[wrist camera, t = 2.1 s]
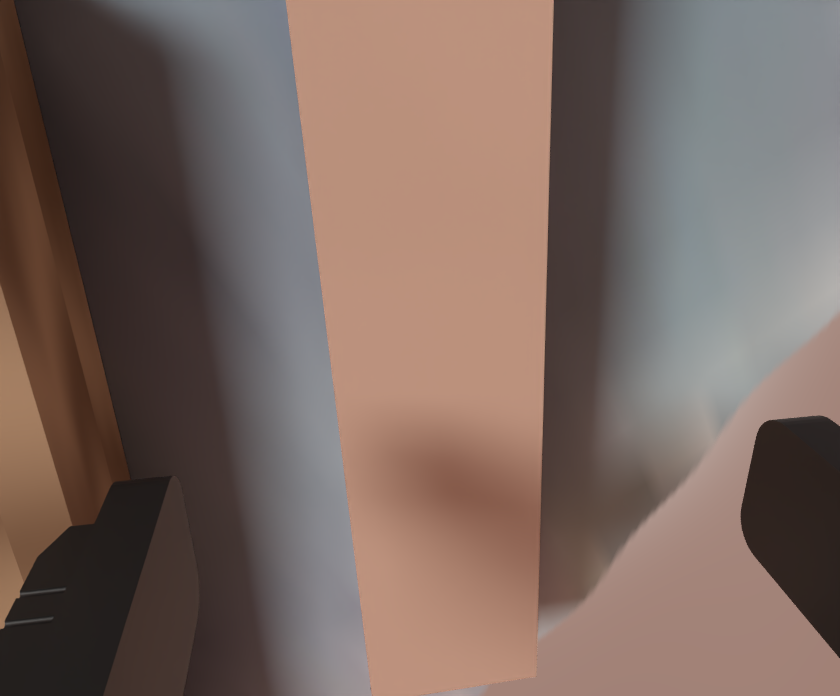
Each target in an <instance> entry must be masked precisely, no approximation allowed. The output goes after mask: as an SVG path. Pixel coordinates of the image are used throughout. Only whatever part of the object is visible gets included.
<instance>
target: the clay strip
mask: <svg viewBox="0 0 840 696" xmlns="http://www.w3.org/2000/svg"><path fill="white" fill-rule="evenodd" d="M286 6H287V14H288V22H289V30H290V38H291V46H292V54H293V62H294V70H295V78H296V86H297V94H298V102H299V110H300V119H301V127H302V135H303V143H304V151H305V159H306V167H307V175H308V183H309V191H310V199H311V207H312V215H313V223H314V232H315V240H316V248H317V256H318V264H319V272H320V280H321V288H322V296H323V304H324V312H325V320H326V328H327V336H328V345H329V353H330V361H331V369H332V377H333V385H334V393H335V401H336V409H337V417H338V425H339V433H340V441H341V449H342V458H343V466H344V474H345V482H346V490H347V498H348V506H349V514H350V522H351V530H352V538H353V546H354V554H355V562H356V570H357V579H358V587H359V595H360V603H361V611H362V619H363V627H364V635H365V643H366V651H367V659H368V667H369V675H370V683H371V692H372V696H419V695H425V694H431V693H438V692H444V691H450V690H456V689H462V688H469V687H475V686H481V685H487V684H494V683H500V682H506V681H512V680H518V679H525V678H530V677H536V670H537V633H538V594H539V555H540V516H541V477H542V438H543V399H544V360H545V321H546V282H547V243H548V203H549V164H550V125H551V86H552V47H553V8H554V0H286Z"/></svg>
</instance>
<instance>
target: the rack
mask: <svg viewBox="0 0 840 696" xmlns="http://www.w3.org/2000/svg"><path fill="white" fill-rule="evenodd" d="M125 480H131V478H130V474H129V470H128V466H127V462H126V458H125V454H124V450H123V446H122V442H121V438H120V433H119V429H118V425H117V421H116V417H115V413H114V409H113V405H112V401H111V397H110V393H109V389H108V384H107V380H106V376H105V372H104V368H103V364H102V360H101V356H100V352H99V348H98V344H97V339H96V335H95V331H94V327H93V323H92V319H91V315H90V311H89V307H88V303H87V299H86V294H85V290H84V286H83V282H82V278H81V274H80V270H79V266H78V262H77V258H76V254H75V250H74V245H73V241H72V237H71V233H70V229H69V225H68V221H67V217H66V213H65V209H64V205H63V200H62V196H61V192H60V188H59V184H58V180H57V176H56V172H55V168H54V164H53V160H52V155H51V151H50V147H49V143H48V139H47V135H46V131H45V127H44V123H43V119H42V115H41V110H40V106H39V102H38V98H37V94H36V90H35V86H34V82H33V78H32V74H31V70H30V66H29V61H28V57H27V53H26V49H25V45H24V41H23V37H22V33H21V29H20V25H19V21H18V16H17V12H16V8H15V4H14V0H0V629H3V628H4V626H5V622H4V621H5V619H6V617H7V615H8V613H9V611H10V609H11V607H12V605H13V603H14V601H15V599H16V598H19V597H20V590H21V588H22V586H23V584H24V582H25V580H26V578H27V576H28V574H29V572H30V570H31V568H32V566H33V564H34V562H35V560H36V559H37V557H38V556H39V555H40V554H41V553H42V552H43V551H44V550H45V549H46V548H47V547H48V546H49V545H51V544H52V543H53V542H54V541H55V540H56V539H57V538H58V537H59V536H60V535H61V534H62V533H63V532H64V531H65V530H67V529H68V528H69V527H70V526H77V525H87V524H94V523H95V521H96V519H97V516H98V514H99V512H100V509H101V507H102V505H103V502H104V500H105V498H106V496H107V493H108V491H109V489H110V487H111V485H112V484H113V483H114V482H116V481H125ZM183 696H184V695H183Z"/></svg>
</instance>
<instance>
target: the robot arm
mask: <svg viewBox="0 0 840 696" xmlns="http://www.w3.org/2000/svg"><path fill="white" fill-rule="evenodd" d="M741 525H742V531H743V534H744V537H745V540H746V543H747V545H748V547H749V549H750V550H751V552H752V553H753V555H754V556H755V557H756V559H757V560H758V561H759V562H760V563H761V565H762V566H763V567H764V568H765V569H766V570H767V572H768V573H769V574H770V575H771V576H772V578H773V579H774V580H775V581H776V582H777V583H778V585H779V586H780V587H781V589H782V590H783V591H784V592H785V593H786V594H787V596H788V597H789V598H790V599H791V600H792V602H793V603H794V604H795V605H796V606H797V608H798V609H799V610H800V611H801V612H802V614H803V615H804V616H805V617H806V618H807V620H808V621H809V622H810V623H811V624H812V625H813V627H814V628H815V629H816V630H817V632H818V633H819V634H820V635H821V636H822V638H823V639H824V640H825V641H826V642H827V643H828V644H829V646H830V647H831V648H832V650H833V651H834V652H835V653H836V654H837V656H838V657H839V658H840V426H838V425H837V424H836V423H835V422H833V421H832V420H830V419H828V418H827V417H824V416H809V417H799V418H788V419H778V420H769V421H767V422H765V423H764V424H763V425H761V427H760V428H759V431H758V433H757V436H756V440H755V445H754V450H753V455H752V460H751V464H750V469H749V474H748V479H747V483H746V488H745V493H744V498H743V503H742V508H741ZM198 613H199V576H198V569H197V563H196V558H195V553H194V548H193V543H192V538H191V533H190V528H189V522H188V517H187V512H186V507H185V502H184V497H183V492H182V488H181V484H180V482H179V479H178V478H177V477H176V476H167V477H156V478H146V479H135V480H125V481H116V482H114V483H113V484H112V485H111V487H110V489H109V491H108V493H107V496H106V498H105V500H104V502H103V505H102V507H101V509H100V512H99V514H98V516H97V519H96V521H95V523H94V524H87V525H77V526H70V527H69V528H68V529H67V530H65V531H64V532H63V533H62V534H61V535H60V536H59V537H58V538H57V539H56V540H55V541H54V542H53V543H52V544H51V545H49V546H48V547H47V548H46V549H45V550H44V551H43V552H42V553H41V554H40V555H39V556H38V557H37V559H36V560H35V562H34V564H33V566H32V568H31V570H30V572H29V574H28V576H27V578H26V580H25V582H24V584H23V586H22V588H21V590H20V597H19V598H16V599H15V601H14V603H13V605H12V607H11V609H10V611H9V613H8V615H7V617H6V619H5V621H4V622H5V626H4V628H3V629H0V696H183V694H184V689H185V683H186V678H187V673H188V668H189V662H190V657H191V652H192V647H193V641H194V636H195V631H196V626H197V620H198Z"/></svg>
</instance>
